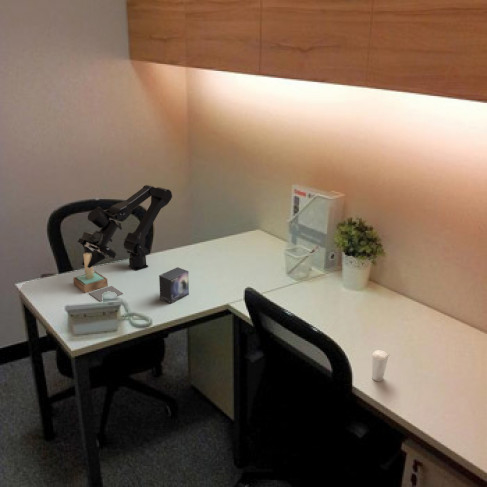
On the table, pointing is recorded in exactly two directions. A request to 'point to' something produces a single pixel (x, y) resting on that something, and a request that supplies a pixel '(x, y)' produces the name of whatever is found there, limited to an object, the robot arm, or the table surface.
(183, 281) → the small box
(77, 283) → the walnut box
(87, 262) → the lid
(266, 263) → the table surface
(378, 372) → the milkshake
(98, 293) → the mat
